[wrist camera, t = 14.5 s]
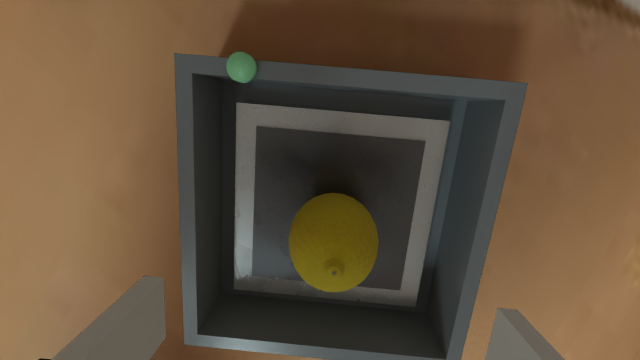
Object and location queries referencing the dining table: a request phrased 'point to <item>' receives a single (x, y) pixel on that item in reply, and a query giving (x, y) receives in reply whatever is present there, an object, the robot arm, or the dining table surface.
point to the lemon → (333, 242)
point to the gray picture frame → (334, 177)
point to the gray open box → (323, 313)
